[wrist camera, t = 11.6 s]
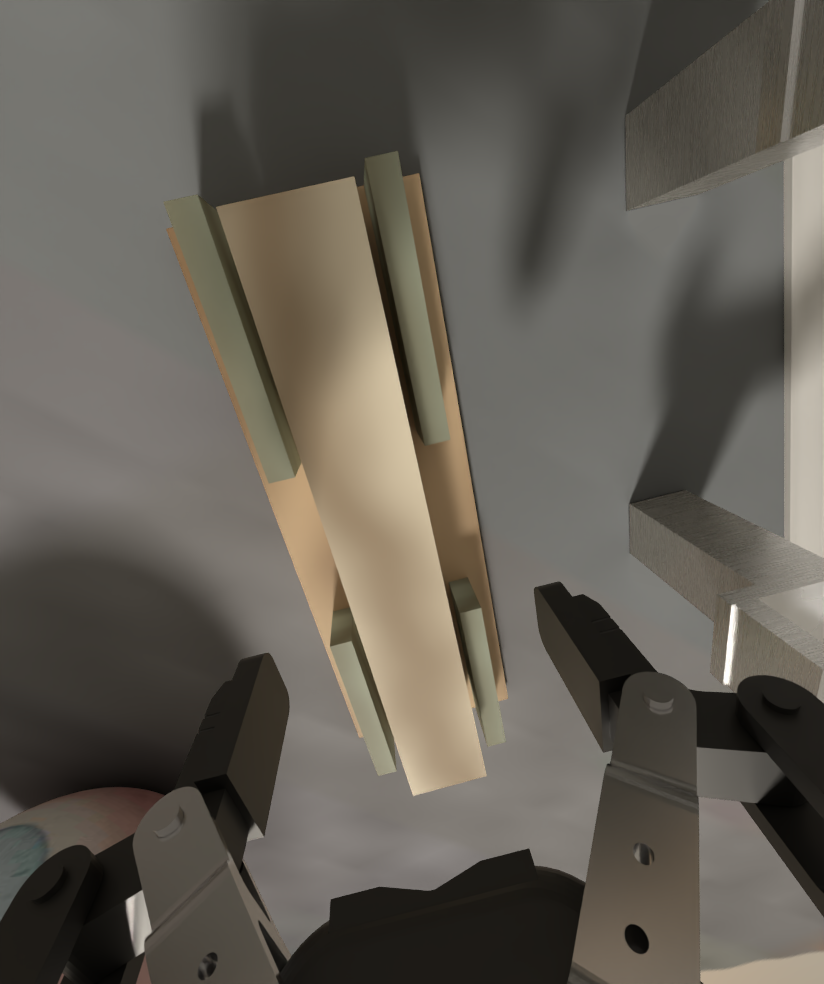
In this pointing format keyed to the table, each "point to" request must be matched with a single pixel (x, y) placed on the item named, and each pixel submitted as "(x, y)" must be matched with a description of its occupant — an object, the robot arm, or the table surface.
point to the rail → (359, 458)
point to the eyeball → (69, 834)
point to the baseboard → (804, 350)
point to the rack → (432, 422)
